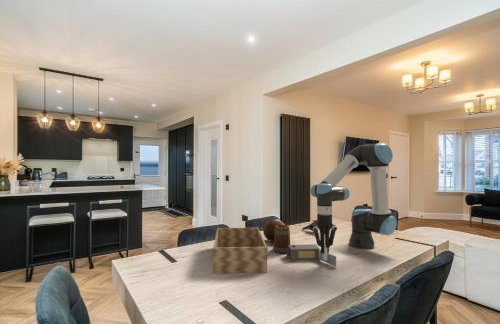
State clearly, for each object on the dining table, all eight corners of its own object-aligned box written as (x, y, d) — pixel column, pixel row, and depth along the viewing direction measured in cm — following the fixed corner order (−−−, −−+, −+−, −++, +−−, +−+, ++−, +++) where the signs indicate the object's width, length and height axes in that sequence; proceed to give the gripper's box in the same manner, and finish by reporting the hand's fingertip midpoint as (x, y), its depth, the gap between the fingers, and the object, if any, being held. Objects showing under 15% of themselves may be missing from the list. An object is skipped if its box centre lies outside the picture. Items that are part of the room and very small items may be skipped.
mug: (290, 254, 150) (290, 228, 150) (272, 253, 152) (272, 227, 153) (291, 246, 166) (291, 222, 166) (275, 245, 168) (275, 221, 168)
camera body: (315, 254, 150) (315, 242, 150) (320, 259, 142) (320, 247, 142) (285, 255, 149) (285, 243, 149) (289, 260, 141) (289, 247, 141)
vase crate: (257, 246, 165) (258, 227, 165) (267, 272, 125) (267, 247, 125) (216, 247, 163) (217, 228, 163) (213, 273, 123) (213, 248, 123)
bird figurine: (297, 230, 205) (309, 209, 198) (304, 228, 212) (316, 208, 205) (310, 242, 197) (323, 221, 190) (316, 239, 204) (329, 219, 198)
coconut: (290, 242, 174) (290, 220, 174) (272, 246, 165) (272, 222, 166) (275, 237, 186) (275, 216, 186) (258, 240, 178) (258, 218, 178)
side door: (318, 260, 142) (318, 248, 142) (319, 259, 143) (319, 248, 143) (334, 267, 131) (334, 255, 131) (336, 267, 132) (336, 255, 132)
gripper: (315, 215, 130) (316, 263, 130) (339, 214, 133) (340, 261, 133) (309, 212, 138) (310, 257, 138) (332, 211, 140) (333, 256, 140)
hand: (324, 259), depth 135 cm, fingers closed
